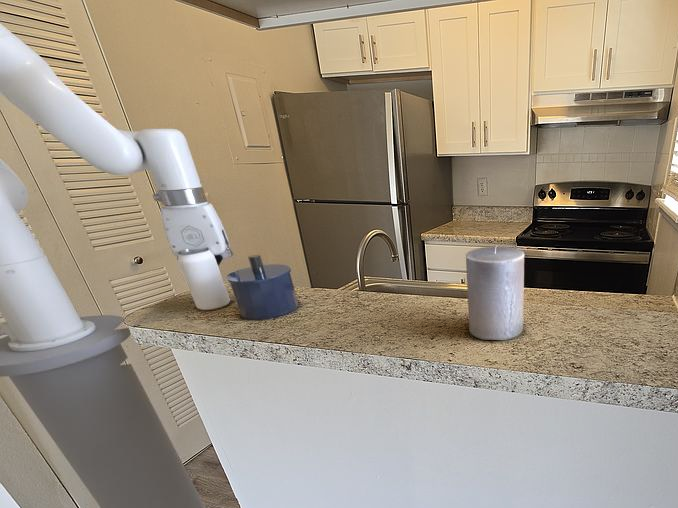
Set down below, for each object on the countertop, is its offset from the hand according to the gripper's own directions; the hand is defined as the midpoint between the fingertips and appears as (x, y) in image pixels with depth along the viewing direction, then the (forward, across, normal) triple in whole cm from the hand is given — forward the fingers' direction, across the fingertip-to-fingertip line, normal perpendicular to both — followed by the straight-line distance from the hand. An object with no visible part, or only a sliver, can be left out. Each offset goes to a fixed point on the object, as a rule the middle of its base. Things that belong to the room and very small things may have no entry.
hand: (216, 285), depth 91 cm
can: (+3, 0, -5) cm, 6 cm away
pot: (+3, +13, -11) cm, 17 cm away
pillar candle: (+4, +56, -36) cm, 66 cm away
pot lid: (-4, +13, -11) cm, 18 cm away
